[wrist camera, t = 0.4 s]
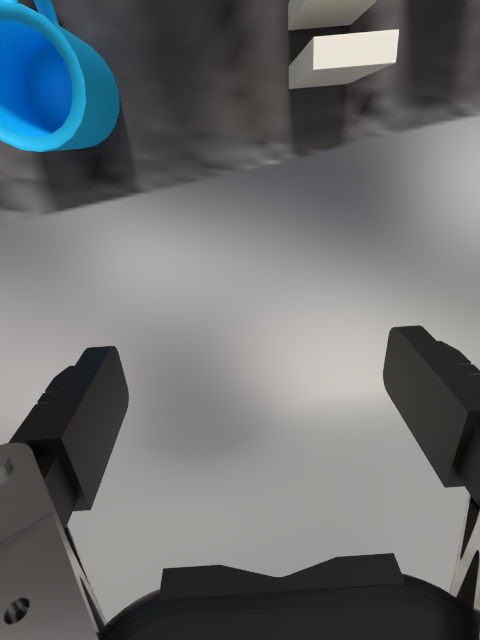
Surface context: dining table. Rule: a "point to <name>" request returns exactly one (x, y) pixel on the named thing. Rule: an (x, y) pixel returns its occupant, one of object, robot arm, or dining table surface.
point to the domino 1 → (325, 12)
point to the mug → (51, 83)
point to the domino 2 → (342, 58)
